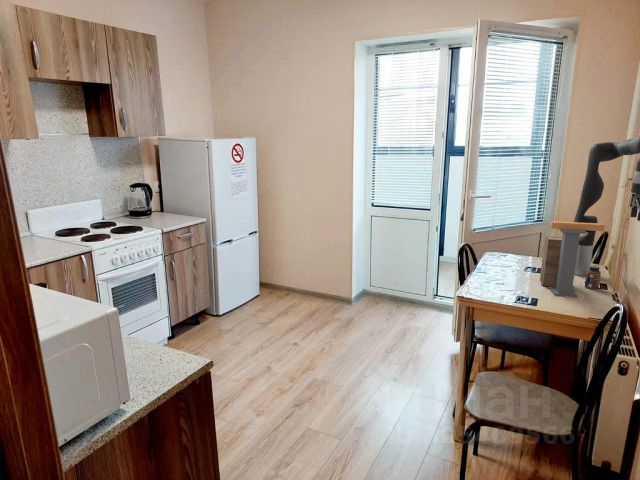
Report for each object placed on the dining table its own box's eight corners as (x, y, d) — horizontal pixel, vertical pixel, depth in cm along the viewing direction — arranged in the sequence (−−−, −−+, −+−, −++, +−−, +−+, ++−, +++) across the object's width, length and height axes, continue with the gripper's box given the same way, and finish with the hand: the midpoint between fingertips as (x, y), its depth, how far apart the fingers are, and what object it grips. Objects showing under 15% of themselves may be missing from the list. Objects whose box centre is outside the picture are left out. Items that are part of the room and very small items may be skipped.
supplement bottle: (591, 290, 215) (594, 268, 212) (581, 286, 220) (584, 265, 218) (601, 289, 216) (604, 267, 214) (591, 285, 222) (594, 264, 219)
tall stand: (550, 288, 218) (557, 226, 210) (572, 290, 215) (581, 227, 207) (554, 295, 209) (562, 230, 201) (577, 297, 205) (586, 231, 198)
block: (550, 227, 208) (550, 221, 208) (602, 229, 201) (603, 223, 201) (551, 228, 205) (552, 222, 205) (603, 231, 199) (604, 224, 198)
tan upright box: (539, 280, 231) (545, 235, 225) (564, 282, 227) (570, 236, 221) (542, 286, 221) (548, 239, 216) (568, 288, 218) (575, 240, 212)
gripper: (627, 180, 192) (621, 215, 196) (639, 183, 179) (632, 221, 183) (647, 180, 189) (640, 216, 193) (660, 184, 176) (653, 222, 180)
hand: (636, 219), depth 188 cm, fingers open, 8 cm apart
